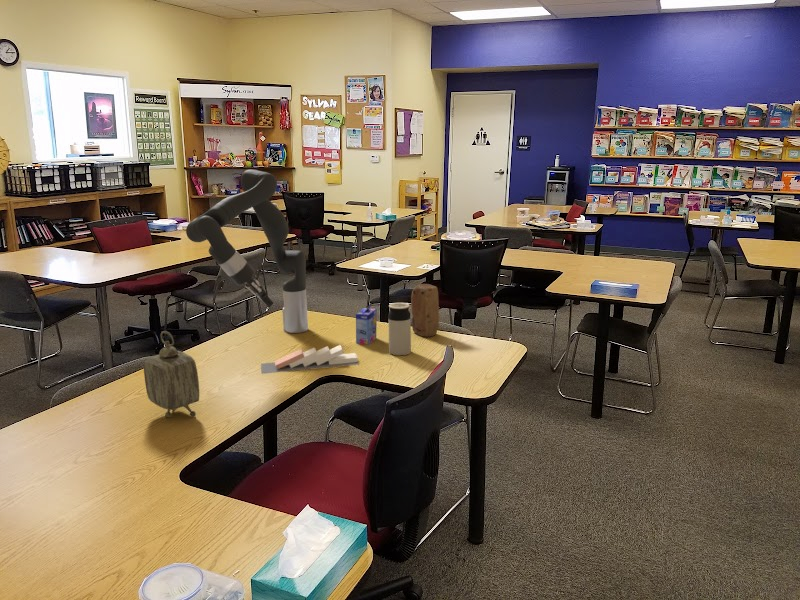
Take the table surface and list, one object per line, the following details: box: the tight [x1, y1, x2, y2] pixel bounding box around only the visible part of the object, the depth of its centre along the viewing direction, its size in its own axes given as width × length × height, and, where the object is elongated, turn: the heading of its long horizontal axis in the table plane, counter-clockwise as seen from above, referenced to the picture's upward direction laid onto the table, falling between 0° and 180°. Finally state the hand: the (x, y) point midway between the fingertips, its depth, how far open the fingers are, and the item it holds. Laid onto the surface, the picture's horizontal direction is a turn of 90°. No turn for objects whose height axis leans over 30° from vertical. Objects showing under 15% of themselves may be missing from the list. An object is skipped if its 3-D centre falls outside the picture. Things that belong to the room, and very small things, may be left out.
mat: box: [260, 361, 360, 375], centre depth 216 cm, size 33×10×1 cm, turn 103°
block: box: [410, 283, 440, 338], centre depth 247 cm, size 11×8×20 cm
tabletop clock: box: [143, 330, 200, 419], centre depth 176 cm, size 14×9×25 cm, turn 48°
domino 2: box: [289, 347, 318, 368], centre depth 215 cm, size 2×5×10 cm
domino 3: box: [303, 345, 331, 367], centre depth 216 cm, size 2×5×10 cm
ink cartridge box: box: [355, 304, 378, 345], centre depth 240 cm, size 10×6×14 cm, turn 163°
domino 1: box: [274, 348, 304, 370], centre depth 214 cm, size 2×5×10 cm
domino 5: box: [328, 352, 359, 365], centre depth 219 cm, size 2×5×10 cm
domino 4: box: [316, 344, 345, 365], centre depth 217 cm, size 2×5×10 cm
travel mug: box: [388, 302, 412, 356], centre depth 226 cm, size 8×8×18 cm
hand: (270, 305), depth 210 cm, fingers closed
